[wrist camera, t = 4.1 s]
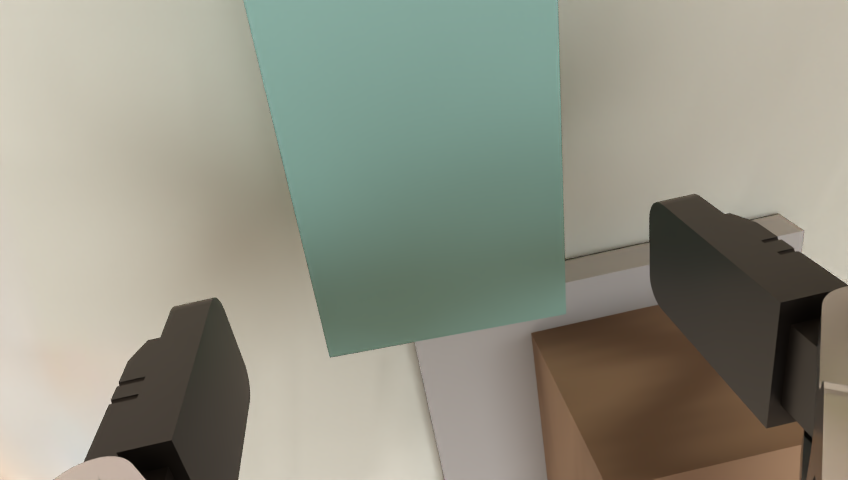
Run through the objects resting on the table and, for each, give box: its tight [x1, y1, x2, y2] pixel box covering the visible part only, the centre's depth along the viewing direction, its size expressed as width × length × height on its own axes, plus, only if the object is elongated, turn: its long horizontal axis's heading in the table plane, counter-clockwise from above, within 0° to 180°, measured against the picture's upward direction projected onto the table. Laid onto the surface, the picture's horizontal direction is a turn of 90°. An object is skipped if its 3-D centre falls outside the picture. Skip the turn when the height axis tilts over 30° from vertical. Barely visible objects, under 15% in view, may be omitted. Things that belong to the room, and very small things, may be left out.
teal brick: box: [243, 0, 566, 357], centre depth 14 cm, size 5×9×6 cm, turn 7°
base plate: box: [415, 214, 804, 480], centre depth 22 cm, size 12×12×1 cm
